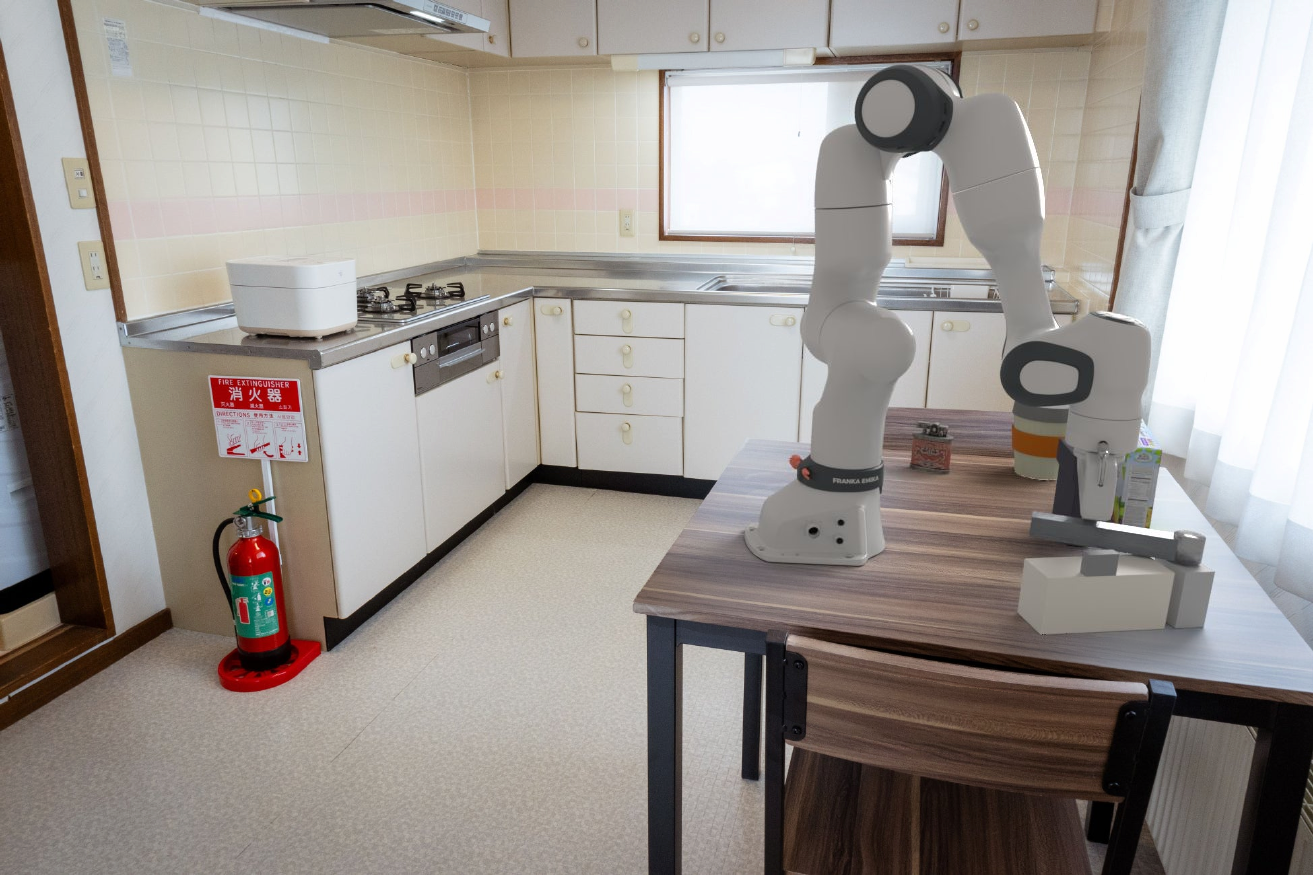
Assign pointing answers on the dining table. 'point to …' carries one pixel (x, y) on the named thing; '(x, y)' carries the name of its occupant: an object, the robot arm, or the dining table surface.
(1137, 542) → the swing bar
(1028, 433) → the reusable coffee cup
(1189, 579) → the post
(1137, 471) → the snack box
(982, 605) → the dining table surface
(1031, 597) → the door slab
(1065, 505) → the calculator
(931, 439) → the lighter
